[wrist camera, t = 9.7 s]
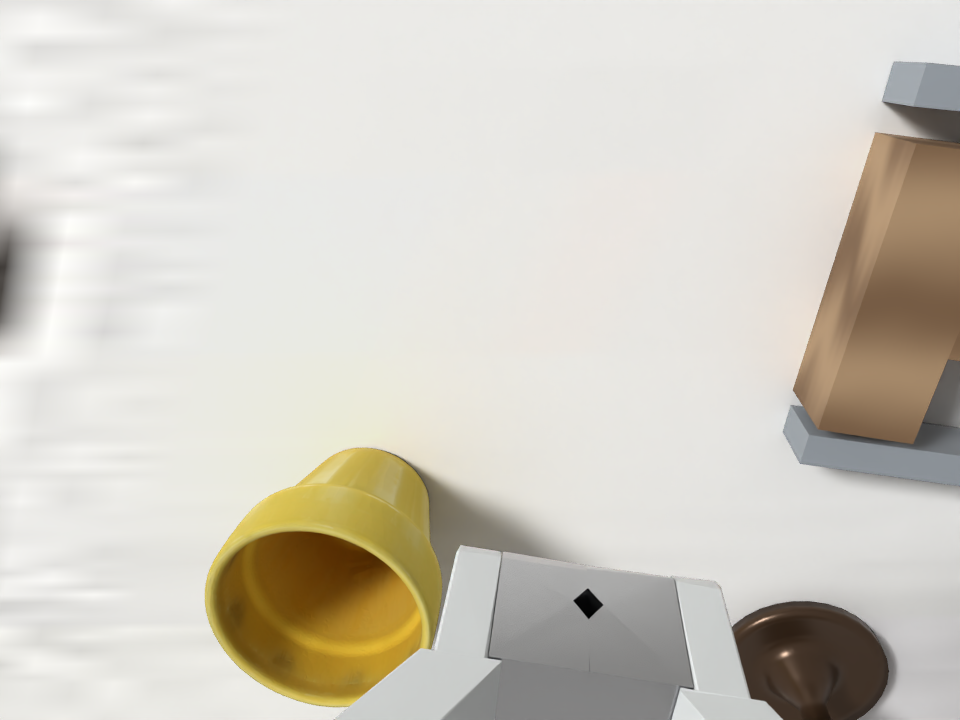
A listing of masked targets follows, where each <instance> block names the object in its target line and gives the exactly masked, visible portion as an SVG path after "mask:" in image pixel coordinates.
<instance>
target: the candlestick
mask: <svg viewBox="0 0 960 720" xmlns="http://www.w3.org/2000/svg"><path fill="white" fill-rule="evenodd" d="M732 630H733V634H734V638H735V642H736V645H737V649H738V653H739V656H740V660H741V664H742V668H743V671H744V675H745V679H746V683H747V686H748V690H749V694H750V697H751V699H754V700H760V701H765V702H766V703H767V704H768V705H769V706H770V707H771V708H772V709H773V710H774V711H775V712H776V713H777V714H778V715H779V716H780V717H781V718H782V719H783V720H857V719H858V718H860V717H861V716H863V715H864V714H866V713H867V712H868V711H869V710H870V709H871V708H872V707H873V706H874V705H875V704H876V703H877V701H878V700H879V699H880V697H881V696H882V694H883V692H884V690H885V687H886V685H887V680H888V673H889V670H888V663H887V658H886V656H885V654H884V652H883V649H882V647H881V645H880V643H879V641H878V639H877V637H876V635H875V634H874V633H873V632H872V630H871V629H870V628H869V627H868V625H867V624H865V623H864V622H863V621H862V620H860V619H859V618H858V617H857V616H855V615H853V614H851V613H849V612H847V611H845V610H844V609H841V608H838V607H835V606H832V605H829V604H824V603H817V602H810V601H799V602H786V603H780V604H775V605H771V606H768V607H765V608H762V609H759V610H757V611H755V612H753V613H751V614H749V615H747V616H745V617H744V618H743V619H741V620H740V621H739V622H737V623H736V624H735V625H734V626H733V627H732Z"/></svg>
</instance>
